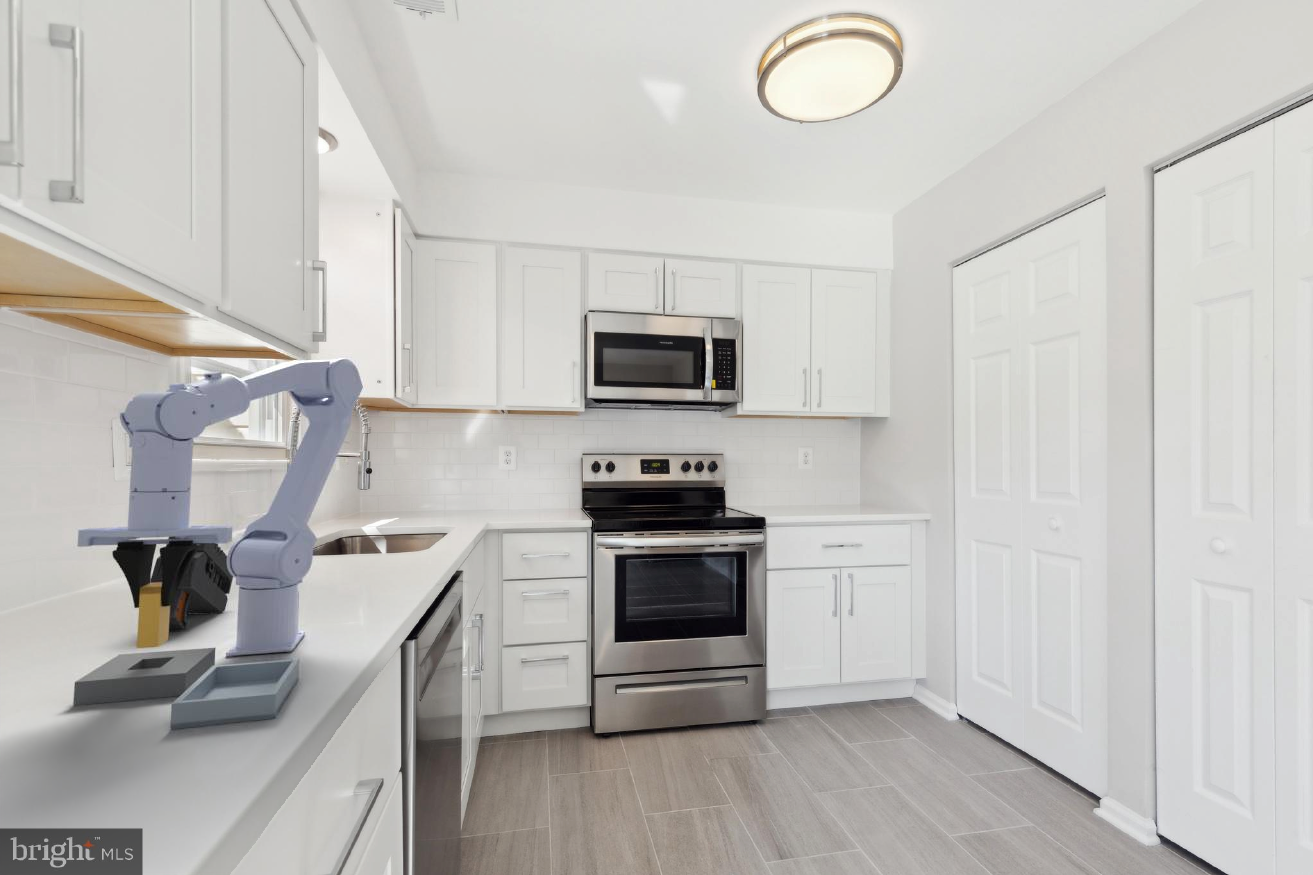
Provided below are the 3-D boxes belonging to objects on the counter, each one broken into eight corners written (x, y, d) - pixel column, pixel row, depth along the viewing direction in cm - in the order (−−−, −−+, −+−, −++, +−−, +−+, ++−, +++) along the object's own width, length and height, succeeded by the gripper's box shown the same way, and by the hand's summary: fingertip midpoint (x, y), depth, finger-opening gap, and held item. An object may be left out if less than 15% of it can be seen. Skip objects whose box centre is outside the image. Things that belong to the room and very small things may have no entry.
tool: (133, 621, 89) (163, 526, 97) (182, 653, 105) (205, 569, 112) (182, 619, 91) (208, 526, 99) (223, 650, 106) (243, 568, 114)
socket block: (118, 674, 75) (119, 654, 75) (214, 667, 79) (215, 647, 79) (73, 705, 66) (74, 681, 66) (184, 695, 69) (185, 672, 69)
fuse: (148, 641, 74) (151, 582, 74) (168, 639, 74) (171, 581, 75) (136, 648, 71) (140, 587, 71) (157, 646, 71) (161, 586, 72)
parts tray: (211, 687, 72) (212, 665, 72) (298, 679, 75) (299, 658, 75) (170, 729, 61) (171, 703, 61) (274, 718, 64) (275, 693, 64)
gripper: (65, 492, 67) (57, 617, 66) (221, 492, 72) (215, 609, 71) (98, 489, 74) (92, 603, 73) (239, 490, 79) (234, 596, 78)
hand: (154, 605), depth 73 cm, fingers closed on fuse, 2 cm apart
